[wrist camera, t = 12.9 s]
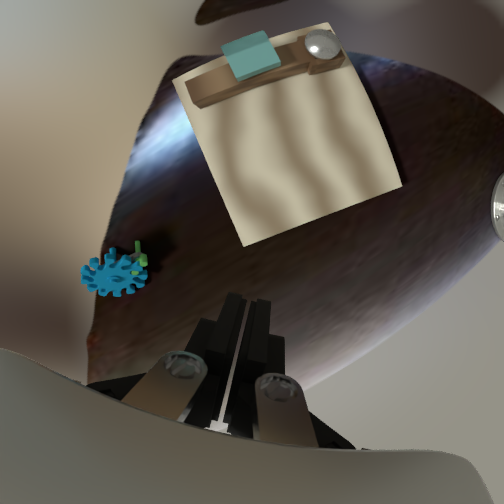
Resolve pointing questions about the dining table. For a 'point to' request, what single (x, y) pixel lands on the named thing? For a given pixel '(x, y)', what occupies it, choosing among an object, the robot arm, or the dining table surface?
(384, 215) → the dining table surface
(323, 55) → the disc
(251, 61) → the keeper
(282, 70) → the link
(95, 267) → the gear
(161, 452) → the robot arm
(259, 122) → the board
